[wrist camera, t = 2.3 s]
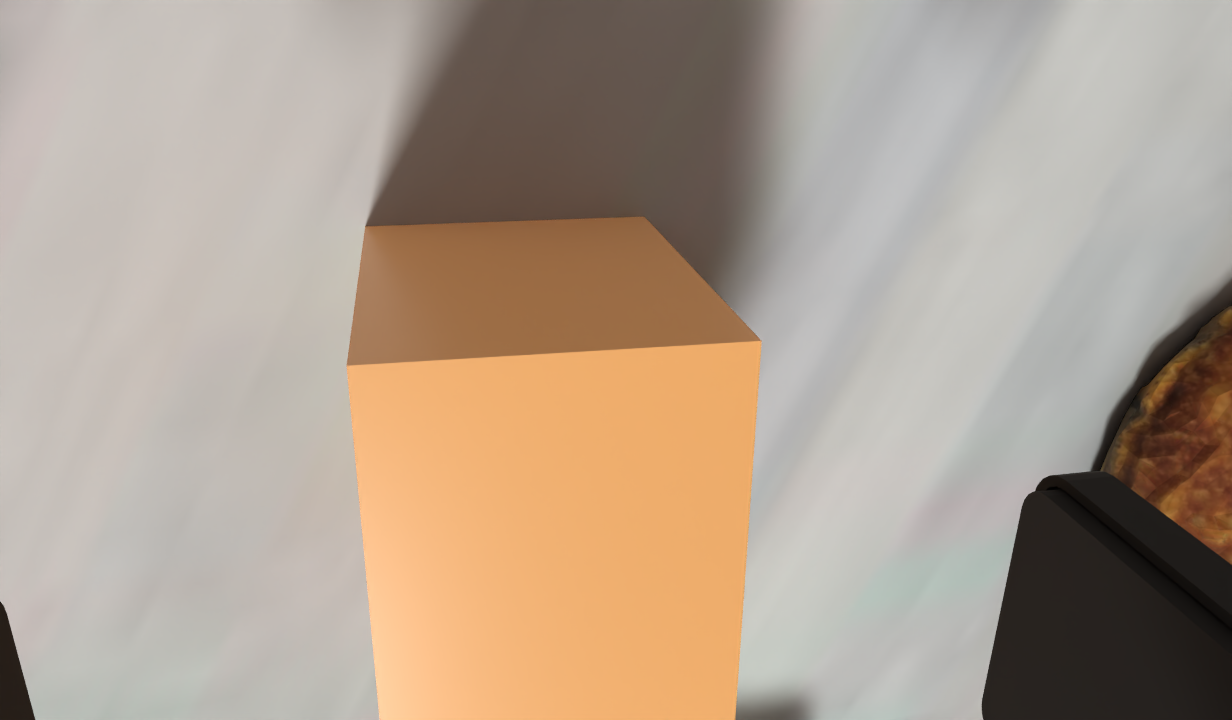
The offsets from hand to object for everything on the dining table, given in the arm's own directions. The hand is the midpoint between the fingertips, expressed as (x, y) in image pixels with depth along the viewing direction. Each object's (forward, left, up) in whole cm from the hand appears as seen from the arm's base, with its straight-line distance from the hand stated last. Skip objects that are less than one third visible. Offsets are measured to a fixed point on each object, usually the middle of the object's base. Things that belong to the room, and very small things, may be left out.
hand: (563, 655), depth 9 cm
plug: (0, +1, -8) cm, 8 cm away
